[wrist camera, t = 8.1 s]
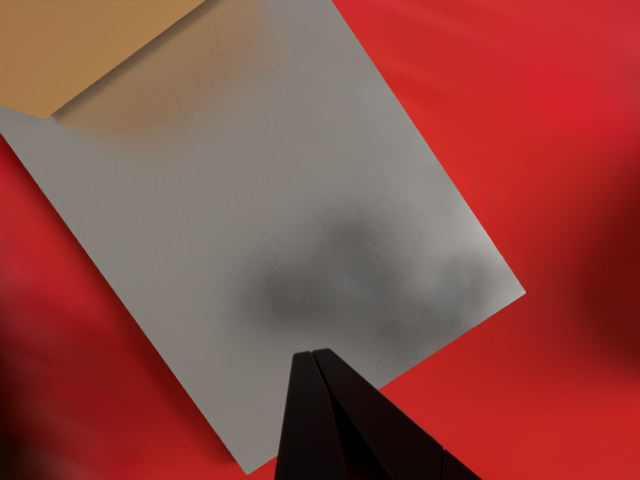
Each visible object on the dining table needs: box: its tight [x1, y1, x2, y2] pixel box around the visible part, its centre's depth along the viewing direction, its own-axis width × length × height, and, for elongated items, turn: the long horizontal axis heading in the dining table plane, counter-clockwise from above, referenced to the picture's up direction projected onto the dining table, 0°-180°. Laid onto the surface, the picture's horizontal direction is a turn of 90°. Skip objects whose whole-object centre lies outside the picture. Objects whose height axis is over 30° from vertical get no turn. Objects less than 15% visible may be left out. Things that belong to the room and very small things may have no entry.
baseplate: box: [0, 0, 526, 475], centre depth 15 cm, size 24×14×7 cm, turn 34°
